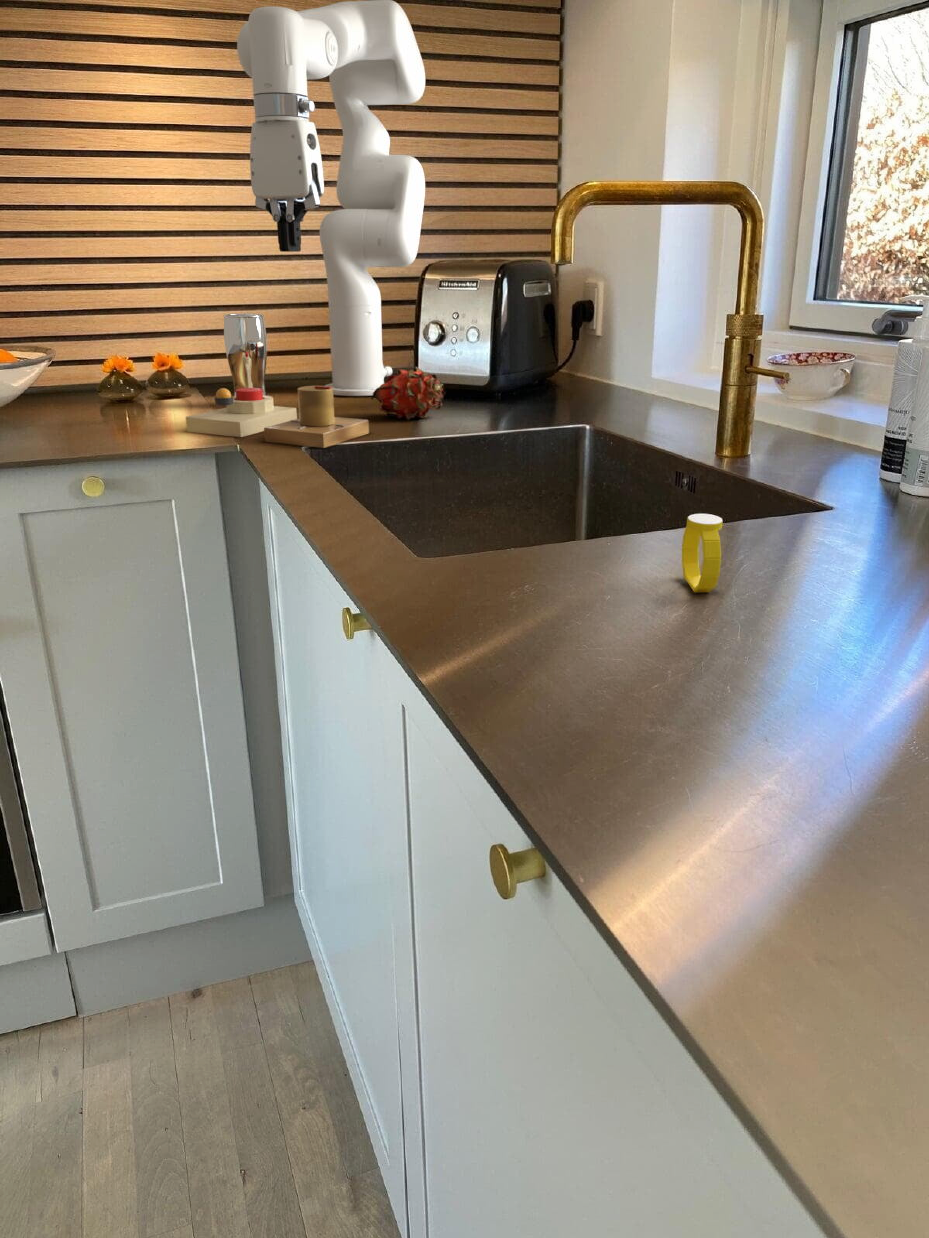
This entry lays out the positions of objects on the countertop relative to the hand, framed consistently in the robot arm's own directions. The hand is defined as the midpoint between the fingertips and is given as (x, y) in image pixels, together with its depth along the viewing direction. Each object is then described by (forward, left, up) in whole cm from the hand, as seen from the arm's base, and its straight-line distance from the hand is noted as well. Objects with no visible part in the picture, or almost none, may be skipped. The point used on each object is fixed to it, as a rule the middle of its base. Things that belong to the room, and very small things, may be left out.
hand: (290, 251), depth 139 cm
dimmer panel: (+10, +10, -25) cm, 29 cm away
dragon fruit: (-10, +14, -25) cm, 31 cm away
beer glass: (-8, -16, -25) cm, 31 cm away
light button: (+6, -5, -21) cm, 23 cm away
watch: (+49, +74, -25) cm, 92 cm away
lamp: (+12, -5, -21) cm, 25 cm away
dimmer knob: (+10, +10, -23) cm, 27 cm away
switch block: (+8, -5, -25) cm, 27 cm away
